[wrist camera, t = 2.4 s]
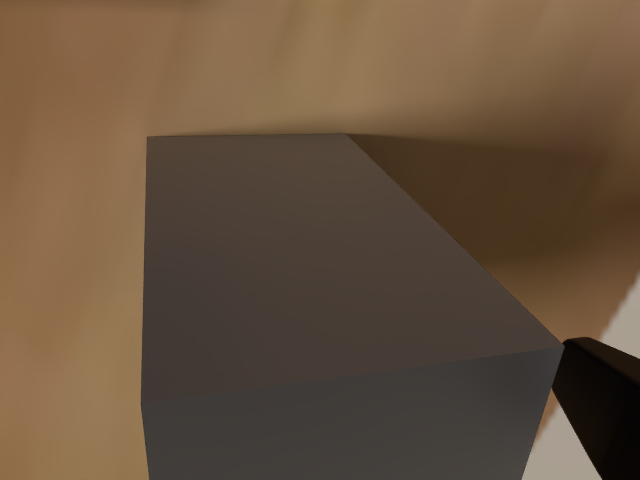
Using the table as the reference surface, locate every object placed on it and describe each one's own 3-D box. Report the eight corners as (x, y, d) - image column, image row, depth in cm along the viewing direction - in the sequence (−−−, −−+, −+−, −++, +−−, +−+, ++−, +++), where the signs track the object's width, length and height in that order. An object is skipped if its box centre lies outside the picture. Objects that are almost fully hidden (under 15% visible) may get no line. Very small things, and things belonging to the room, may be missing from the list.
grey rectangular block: (331, 293, 15) (485, 590, 8) (161, 309, 14) (171, 671, 7) (345, 133, 13) (564, 346, 6) (147, 136, 12) (141, 403, 5)
